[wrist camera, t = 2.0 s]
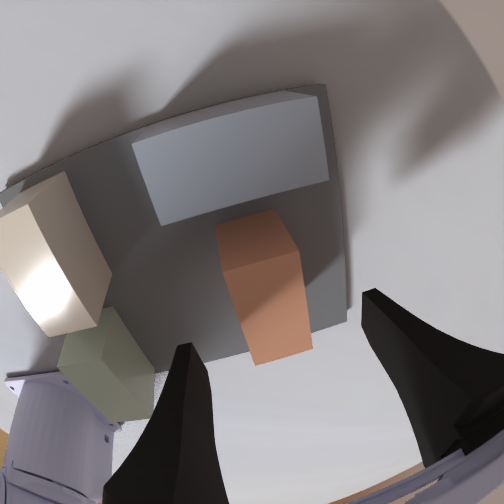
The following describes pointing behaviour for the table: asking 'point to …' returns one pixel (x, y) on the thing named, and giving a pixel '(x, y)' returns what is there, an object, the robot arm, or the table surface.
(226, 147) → the bluegrey brick
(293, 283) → the terracotta brick
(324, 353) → the table surface
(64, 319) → the cream brick
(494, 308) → the table surface
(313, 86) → the mat
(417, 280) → the table surface
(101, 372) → the sage brick
